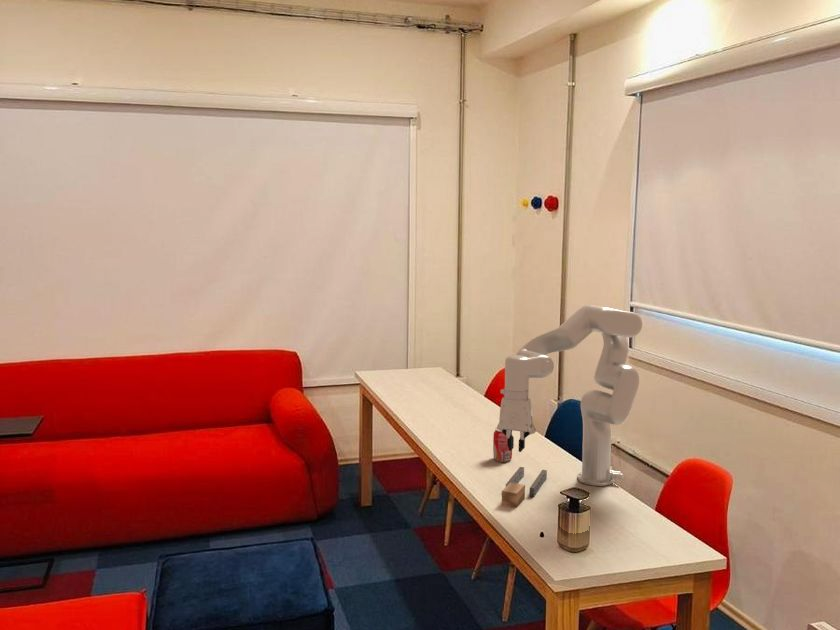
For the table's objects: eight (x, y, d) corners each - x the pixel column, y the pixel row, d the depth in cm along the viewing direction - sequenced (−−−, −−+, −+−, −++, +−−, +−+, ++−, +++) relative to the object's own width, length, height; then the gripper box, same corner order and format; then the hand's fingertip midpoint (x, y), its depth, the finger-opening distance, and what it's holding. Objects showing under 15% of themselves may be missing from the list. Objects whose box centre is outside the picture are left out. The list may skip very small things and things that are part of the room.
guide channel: (546, 478, 262) (546, 470, 262) (533, 497, 246) (534, 488, 245) (519, 474, 266) (520, 466, 266) (505, 493, 250) (505, 484, 249)
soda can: (500, 455, 287) (500, 425, 285) (515, 459, 282) (516, 428, 280) (489, 460, 281) (489, 429, 279) (505, 464, 277) (505, 433, 275)
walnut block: (524, 499, 245) (524, 484, 244) (516, 508, 238) (516, 493, 237) (510, 496, 247) (510, 482, 246) (501, 505, 240) (501, 490, 239)
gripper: (488, 394, 238) (488, 450, 240) (538, 399, 231) (537, 456, 234) (495, 389, 244) (495, 443, 247) (544, 393, 238) (543, 449, 241)
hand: (516, 449), depth 241 cm, fingers open, 2 cm apart
